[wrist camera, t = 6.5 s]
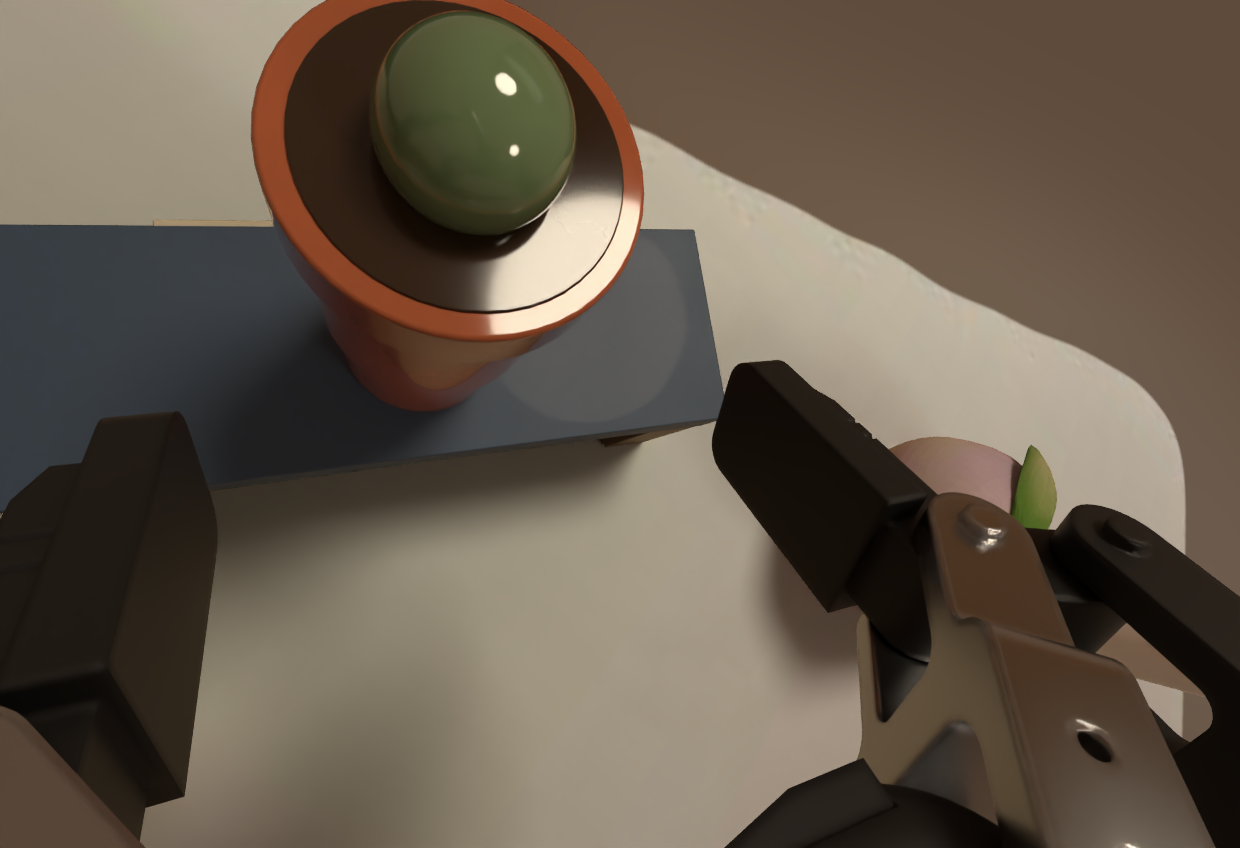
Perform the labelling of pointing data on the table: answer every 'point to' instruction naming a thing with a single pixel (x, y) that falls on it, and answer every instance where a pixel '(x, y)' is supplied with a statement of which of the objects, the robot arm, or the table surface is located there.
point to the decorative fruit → (985, 476)
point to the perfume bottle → (1145, 661)
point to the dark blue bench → (309, 358)
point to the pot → (443, 186)
